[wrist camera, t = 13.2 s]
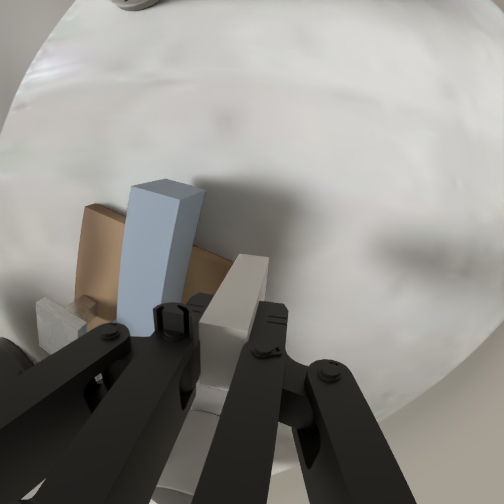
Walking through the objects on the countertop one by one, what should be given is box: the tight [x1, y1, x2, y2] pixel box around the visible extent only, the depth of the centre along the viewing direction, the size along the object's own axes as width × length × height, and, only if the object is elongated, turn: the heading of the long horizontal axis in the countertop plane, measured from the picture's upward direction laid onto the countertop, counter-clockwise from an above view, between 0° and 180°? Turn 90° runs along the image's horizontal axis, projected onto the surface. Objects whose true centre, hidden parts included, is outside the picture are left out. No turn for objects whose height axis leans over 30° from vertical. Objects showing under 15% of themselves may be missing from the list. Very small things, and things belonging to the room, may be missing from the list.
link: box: [101, 179, 206, 379], centre depth 21 cm, size 18×6×5 cm, turn 164°
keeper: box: [36, 294, 98, 355], centre depth 21 cm, size 5×5×7 cm
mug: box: [151, 411, 220, 504], centre depth 25 cm, size 12×8×11 cm
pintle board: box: [74, 204, 232, 332], centre depth 22 cm, size 14×14×8 cm
